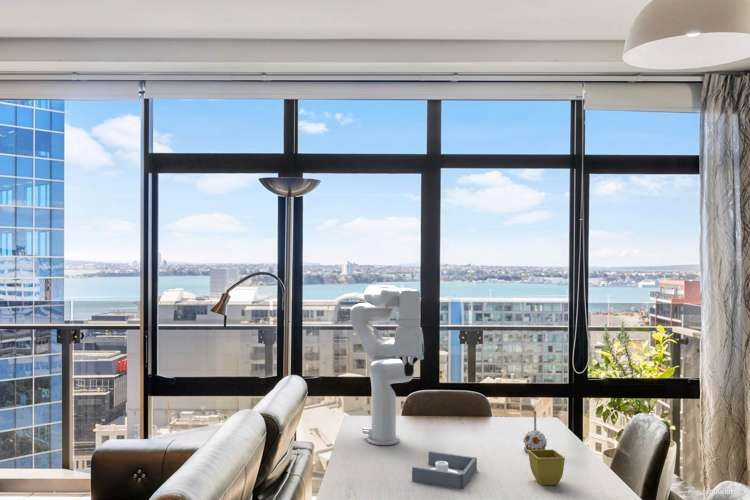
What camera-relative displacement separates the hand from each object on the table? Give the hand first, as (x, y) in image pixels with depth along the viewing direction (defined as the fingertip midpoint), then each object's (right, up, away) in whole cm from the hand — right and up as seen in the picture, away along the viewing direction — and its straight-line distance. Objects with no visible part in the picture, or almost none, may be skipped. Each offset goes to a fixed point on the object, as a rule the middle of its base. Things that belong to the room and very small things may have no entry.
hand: (408, 375), depth 197 cm
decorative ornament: (+47, -30, +8) cm, 57 cm away
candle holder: (+9, -29, -17) cm, 35 cm away
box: (+11, -29, -17) cm, 35 cm away
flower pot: (+42, -29, -23) cm, 56 cm away
